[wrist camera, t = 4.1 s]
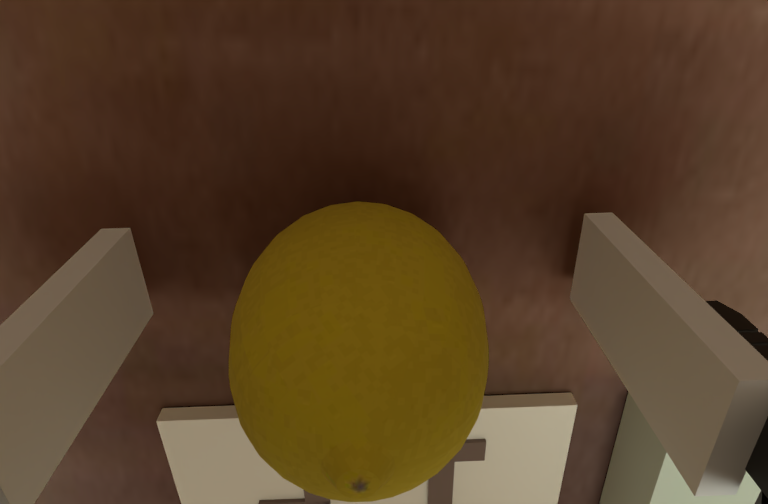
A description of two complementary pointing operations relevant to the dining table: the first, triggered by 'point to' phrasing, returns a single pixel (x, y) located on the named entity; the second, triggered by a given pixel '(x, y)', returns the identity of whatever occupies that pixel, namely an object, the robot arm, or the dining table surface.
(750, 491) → the dish
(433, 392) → the lemon
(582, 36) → the dining table surface
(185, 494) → the tile
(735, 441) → the robot arm
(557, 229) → the dining table surface
